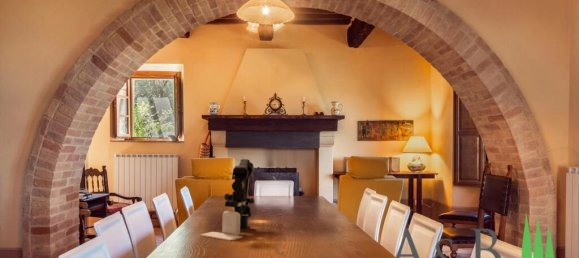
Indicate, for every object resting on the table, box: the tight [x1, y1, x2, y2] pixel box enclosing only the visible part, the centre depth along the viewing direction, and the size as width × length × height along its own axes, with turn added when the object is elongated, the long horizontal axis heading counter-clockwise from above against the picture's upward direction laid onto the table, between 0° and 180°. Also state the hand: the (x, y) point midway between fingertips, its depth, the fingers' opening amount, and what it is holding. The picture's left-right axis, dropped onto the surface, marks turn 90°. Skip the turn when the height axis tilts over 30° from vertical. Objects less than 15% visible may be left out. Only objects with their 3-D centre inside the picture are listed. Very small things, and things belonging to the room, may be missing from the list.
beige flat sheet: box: [200, 231, 243, 242], centre depth 231 cm, size 9×20×1 cm, turn 58°
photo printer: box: [221, 210, 241, 236], centre depth 238 cm, size 10×4×12 cm, turn 60°
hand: (239, 217), depth 244 cm, fingers closed
